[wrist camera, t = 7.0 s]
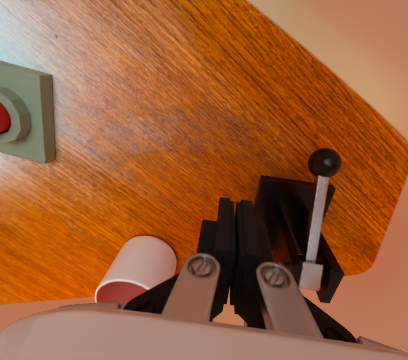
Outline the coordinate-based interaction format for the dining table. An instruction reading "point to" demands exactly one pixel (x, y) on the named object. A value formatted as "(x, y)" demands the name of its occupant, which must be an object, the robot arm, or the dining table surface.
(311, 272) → the lever
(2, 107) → the button
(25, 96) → the button box
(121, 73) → the dining table surface
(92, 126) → the dining table surface
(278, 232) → the bracket
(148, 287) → the cup
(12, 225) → the dining table surface
